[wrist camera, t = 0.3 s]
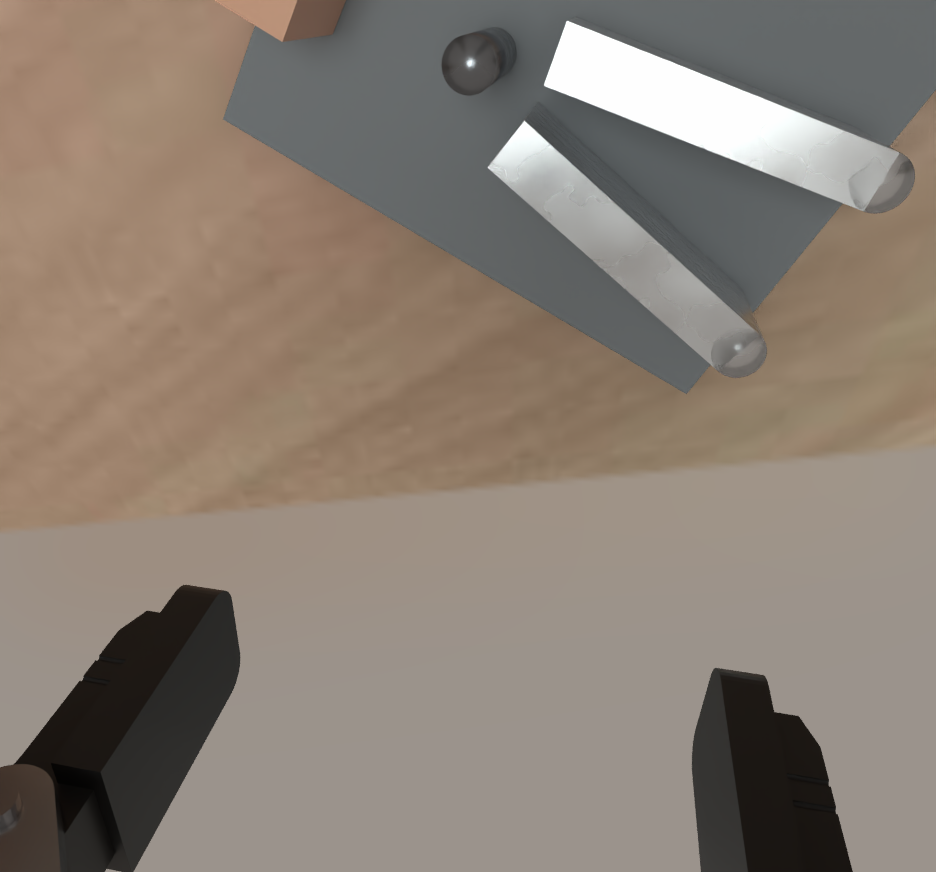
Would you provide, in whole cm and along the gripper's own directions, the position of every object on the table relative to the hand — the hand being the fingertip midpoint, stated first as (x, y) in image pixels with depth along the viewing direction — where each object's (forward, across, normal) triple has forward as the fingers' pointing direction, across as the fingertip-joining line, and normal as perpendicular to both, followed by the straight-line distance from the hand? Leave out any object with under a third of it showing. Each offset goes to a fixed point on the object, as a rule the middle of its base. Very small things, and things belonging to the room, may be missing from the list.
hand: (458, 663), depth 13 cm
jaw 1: (+25, -5, -6) cm, 26 cm away
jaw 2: (+25, -3, -1) cm, 25 cm away
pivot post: (+26, +3, -7) cm, 27 cm away
